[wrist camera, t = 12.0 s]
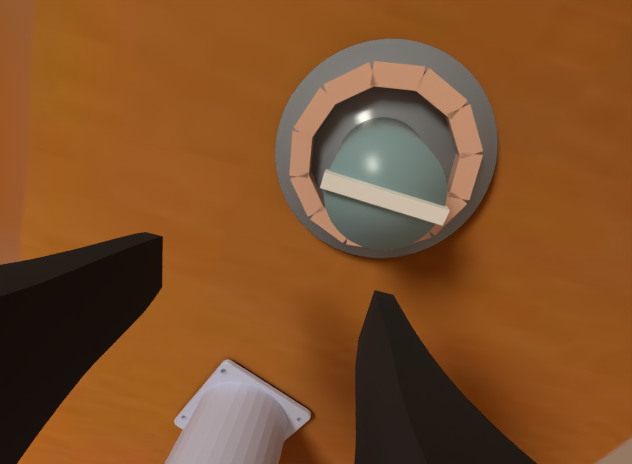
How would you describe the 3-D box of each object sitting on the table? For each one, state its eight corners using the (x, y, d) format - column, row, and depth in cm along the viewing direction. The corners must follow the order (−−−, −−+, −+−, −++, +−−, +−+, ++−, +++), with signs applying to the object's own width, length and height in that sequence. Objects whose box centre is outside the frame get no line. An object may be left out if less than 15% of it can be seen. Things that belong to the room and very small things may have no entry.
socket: (391, 284, 21) (393, 299, 20) (243, 176, 20) (232, 184, 18) (543, 137, 17) (559, 143, 15) (364, -15, 15) (363, -25, 14)
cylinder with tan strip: (442, 132, 17) (474, 158, 11) (407, 214, 18) (421, 269, 13) (350, 105, 17) (339, 118, 11) (325, 189, 19) (306, 233, 13)
